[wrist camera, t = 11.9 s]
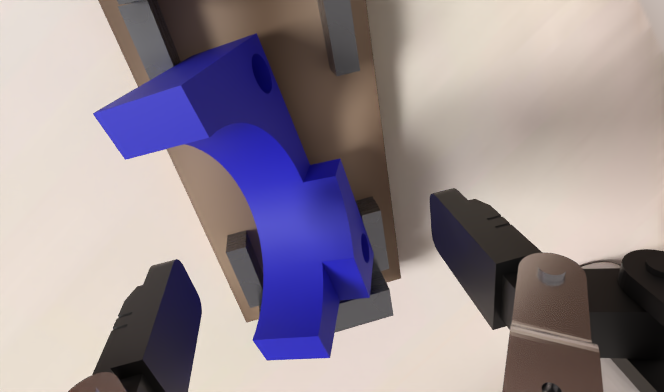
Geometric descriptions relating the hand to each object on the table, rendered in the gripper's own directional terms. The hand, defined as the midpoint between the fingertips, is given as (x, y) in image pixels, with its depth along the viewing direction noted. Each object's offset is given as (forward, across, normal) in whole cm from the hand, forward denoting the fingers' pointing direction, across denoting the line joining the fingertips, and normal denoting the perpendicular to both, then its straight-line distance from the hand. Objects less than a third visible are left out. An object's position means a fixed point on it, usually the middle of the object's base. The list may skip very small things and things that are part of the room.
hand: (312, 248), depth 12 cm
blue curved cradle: (+7, 0, 0) cm, 7 cm away
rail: (+9, 0, 0) cm, 9 cm away
